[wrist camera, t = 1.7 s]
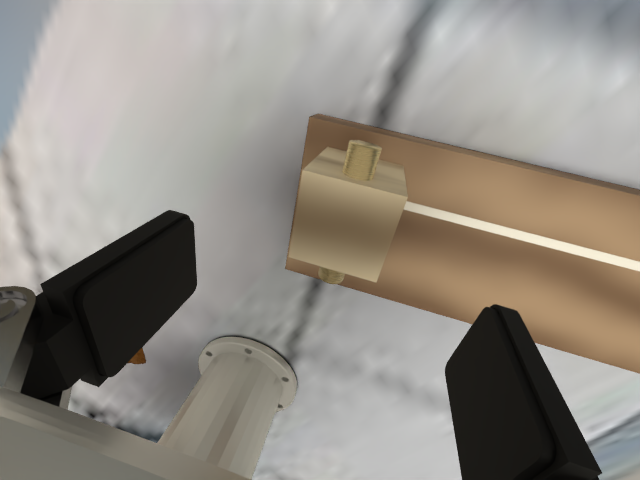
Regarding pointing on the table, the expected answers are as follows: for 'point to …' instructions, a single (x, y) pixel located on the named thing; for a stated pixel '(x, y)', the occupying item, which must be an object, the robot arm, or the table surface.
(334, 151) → the marking gauge
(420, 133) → the table surface
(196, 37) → the table surface
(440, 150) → the board
